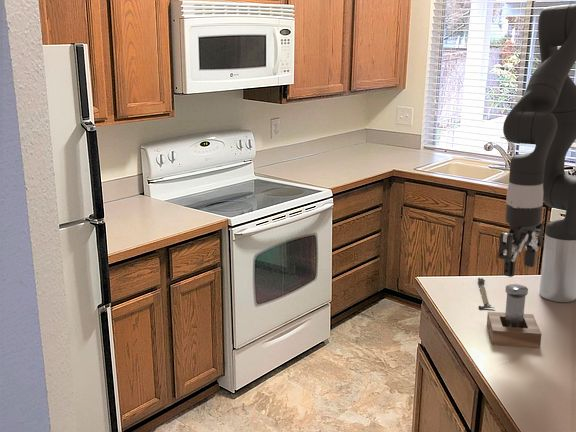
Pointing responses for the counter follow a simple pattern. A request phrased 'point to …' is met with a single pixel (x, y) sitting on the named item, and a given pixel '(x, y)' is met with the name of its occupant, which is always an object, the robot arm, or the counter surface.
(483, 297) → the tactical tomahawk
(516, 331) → the socket block
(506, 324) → the pin
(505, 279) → the counter surface
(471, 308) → the counter surface
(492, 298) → the counter surface
